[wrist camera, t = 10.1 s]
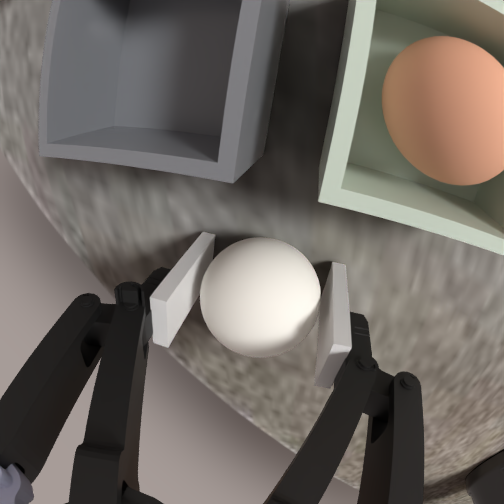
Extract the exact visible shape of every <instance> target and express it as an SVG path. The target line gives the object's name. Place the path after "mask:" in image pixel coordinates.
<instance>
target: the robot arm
mask: <svg viewBox="0 0 504 504" xmlns="http://www.w3.org/2000/svg"><path fill="white" fill-rule="evenodd" d="M214 243H215V234H210V233H206V232H202V233H201V235H200V236H199V237H198V238H197V239H196V241H195V242H194V243H193V244H192V245H191V247H190V248H189V249H188V250H187V251H186V253H185V254H184V255H183V256H182V258H181V259H180V260H179V261H178V262H177V264H176V265H175V266H174V267H173V269H172V270H171V269H167V268H163V267H161V268H159V269H157V270H155V271H153V273H152V274H151V275H150V276H149V278H147V279H146V281H145V283H143V284H142V285H140V284H139V283H136V282H124V283H121V284H119V285H118V286H116V288H115V289H114V291H115V298H116V304H103V303H101V302H100V298H99V297H98V296H97V295H95V294H90V293H87V294H82V295H80V296H78V297H77V298H76V299H75V300H74V301H73V302H72V303H71V305H70V306H69V307H68V308H67V309H66V311H65V312H64V313H63V314H62V316H61V317H60V318H59V319H58V321H57V322H56V323H55V324H54V326H53V327H52V328H51V329H50V331H49V332H48V333H47V335H46V336H45V337H44V338H43V340H42V341H41V343H40V344H39V345H38V346H37V348H36V349H35V350H34V352H33V353H32V355H31V356H30V357H29V359H28V360H27V361H26V363H25V364H24V366H23V367H22V368H21V370H20V371H19V373H18V374H17V376H16V377H15V379H14V380H13V381H12V383H11V384H10V386H9V387H8V389H7V390H6V392H5V393H4V395H3V396H2V398H1V400H0V504H28V503H29V502H31V501H32V500H33V498H34V494H33V489H32V486H31V484H32V482H33V481H34V480H35V479H36V477H37V476H38V475H39V473H40V471H41V470H42V468H43V466H44V464H45V462H46V460H47V457H48V456H49V454H50V452H51V450H52V448H53V446H54V444H55V441H56V439H57V438H58V436H59V433H60V431H61V430H62V428H63V426H64V424H65V422H66V419H67V418H68V416H69V414H70V412H71V410H72V408H73V407H74V405H75V403H76V401H77V399H78V397H79V395H80V394H81V392H82V390H83V388H84V386H85V385H86V383H87V381H88V379H89V378H90V376H91V374H92V372H93V370H94V369H95V367H96V365H97V363H98V362H99V360H100V358H101V361H100V365H99V370H98V373H97V378H96V382H95V386H94V391H93V395H92V400H91V405H90V410H89V415H88V420H87V425H86V431H85V437H84V441H83V443H82V444H81V445H79V446H78V447H77V449H76V452H75V458H74V464H73V471H72V478H71V487H70V495H69V502H68V503H65V504H163V503H162V502H160V501H159V500H157V499H155V498H153V497H151V496H148V495H146V494H144V493H141V492H140V491H139V482H138V457H139V440H140V426H141V414H142V403H143V393H144V383H145V375H146V367H147V359H148V351H149V343H148V341H149V339H150V338H151V336H152V335H153V343H155V344H158V345H161V346H164V347H167V348H168V347H169V345H170V344H171V342H172V340H173V338H174V337H175V335H176V333H177V332H178V330H179V328H180V327H181V325H182V323H183V321H184V320H185V318H186V316H187V315H188V313H189V311H190V310H191V308H192V306H193V304H194V303H195V301H196V299H197V298H198V296H199V294H200V290H201V284H202V280H203V277H204V275H205V273H206V271H207V269H208V267H209V265H210V264H211V262H212V261H213V253H214ZM369 336H370V335H369V327H368V321H367V320H366V318H365V317H364V315H362V314H358V313H353V312H350V310H349V297H348V286H347V275H346V265H345V264H341V263H337V262H332V265H331V268H330V271H329V274H328V278H327V281H326V284H325V287H324V290H323V293H322V296H321V304H320V312H319V329H318V344H317V357H316V370H315V381H314V386H319V387H325V388H331V386H332V385H333V383H334V390H333V392H332V394H331V395H330V397H329V399H328V401H327V402H326V405H325V407H324V408H323V410H322V412H321V414H320V416H319V417H318V419H317V421H316V423H315V424H314V426H313V428H312V430H311V431H310V433H309V435H308V436H307V438H306V440H305V441H304V443H303V445H302V446H301V448H300V450H299V451H298V453H297V454H296V456H295V458H294V459H293V461H292V462H291V464H290V465H289V467H288V469H287V470H286V471H285V473H284V474H283V476H282V477H281V479H280V481H279V482H278V483H277V485H276V486H275V488H274V489H273V491H272V492H271V494H270V495H269V496H268V498H267V499H266V501H265V502H264V503H263V504H318V503H319V501H320V499H321V498H322V496H323V494H324V492H325V491H326V489H327V487H328V485H329V483H330V481H331V479H332V477H333V475H334V474H335V472H336V470H337V468H338V466H339V464H340V462H341V459H342V457H343V455H344V453H345V451H346V449H347V447H348V445H349V443H350V440H351V438H352V436H353V434H354V431H355V429H356V427H357V424H358V422H359V420H360V417H361V415H362V413H365V414H367V415H369V420H368V430H367V440H366V449H365V457H364V464H363V471H362V478H361V485H360V491H359V497H358V503H357V504H423V490H424V425H423V407H422V394H421V385H420V381H419V380H418V379H417V377H416V376H414V375H413V374H411V373H409V372H399V373H397V374H396V376H395V377H394V376H392V375H390V374H387V373H385V372H383V371H381V370H380V369H379V366H378V364H377V362H376V360H375V359H374V358H372V352H371V343H370V337H369ZM465 481H466V489H467V493H468V495H469V496H471V497H472V500H473V503H474V504H504V451H502V452H501V453H499V454H497V455H495V456H494V457H492V458H490V459H489V460H487V461H486V462H484V463H483V464H481V465H480V466H478V467H477V468H476V469H475V470H473V471H472V472H471V473H470V474H469V475H468V476H467V478H466V480H465Z"/></svg>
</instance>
